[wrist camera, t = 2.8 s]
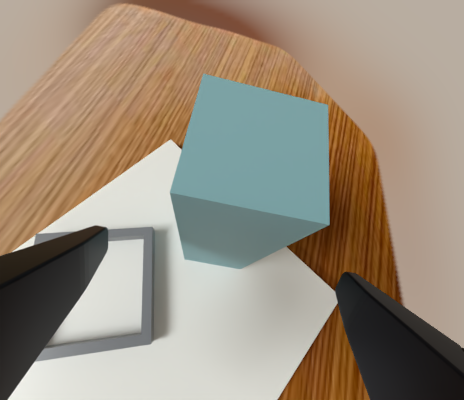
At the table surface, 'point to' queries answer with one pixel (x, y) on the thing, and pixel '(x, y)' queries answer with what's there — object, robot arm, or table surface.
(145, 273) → the socket
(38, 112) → the table surface
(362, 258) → the table surface
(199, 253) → the post
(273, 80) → the table surface
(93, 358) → the baseplate
